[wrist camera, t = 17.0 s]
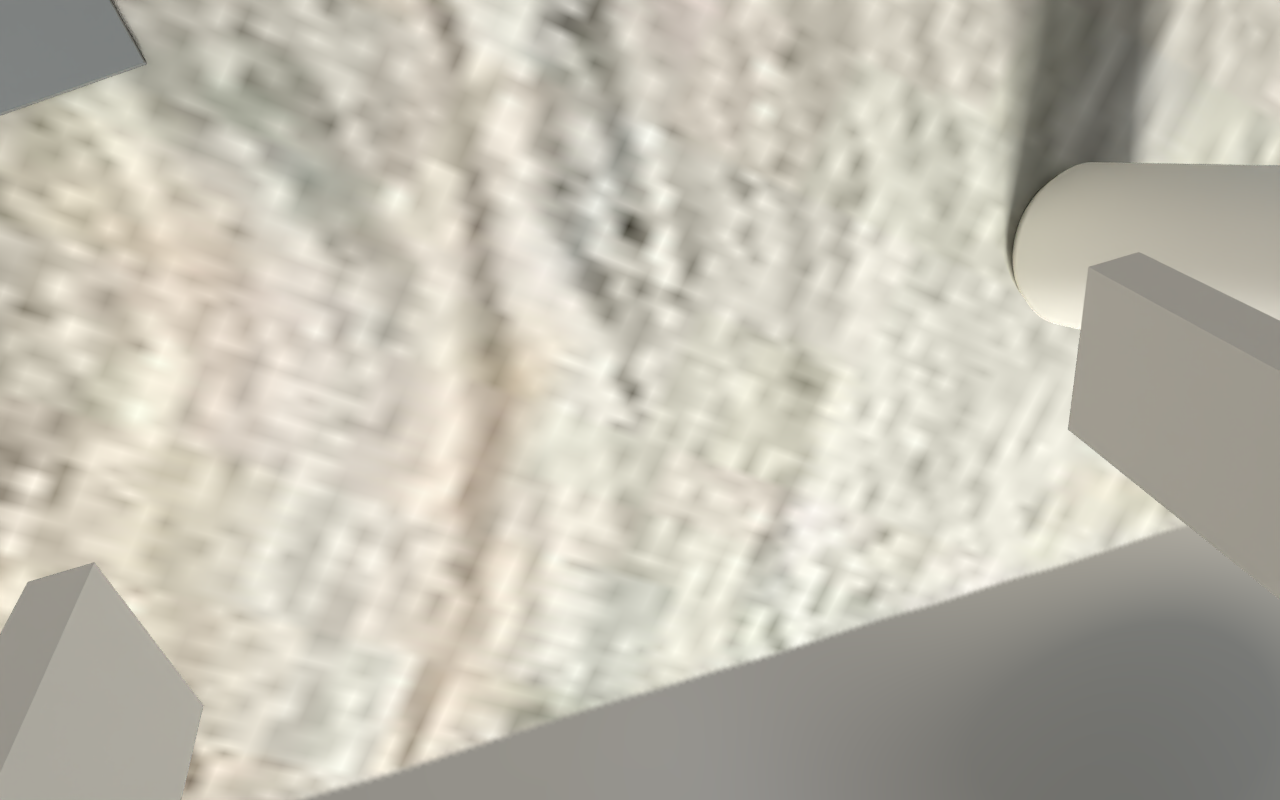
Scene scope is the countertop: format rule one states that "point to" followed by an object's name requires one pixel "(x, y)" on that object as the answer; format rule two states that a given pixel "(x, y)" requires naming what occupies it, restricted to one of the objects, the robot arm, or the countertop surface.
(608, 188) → the countertop surface
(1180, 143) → the countertop surface
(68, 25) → the letter board
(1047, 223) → the alcohol
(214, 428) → the countertop surface
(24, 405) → the countertop surface
